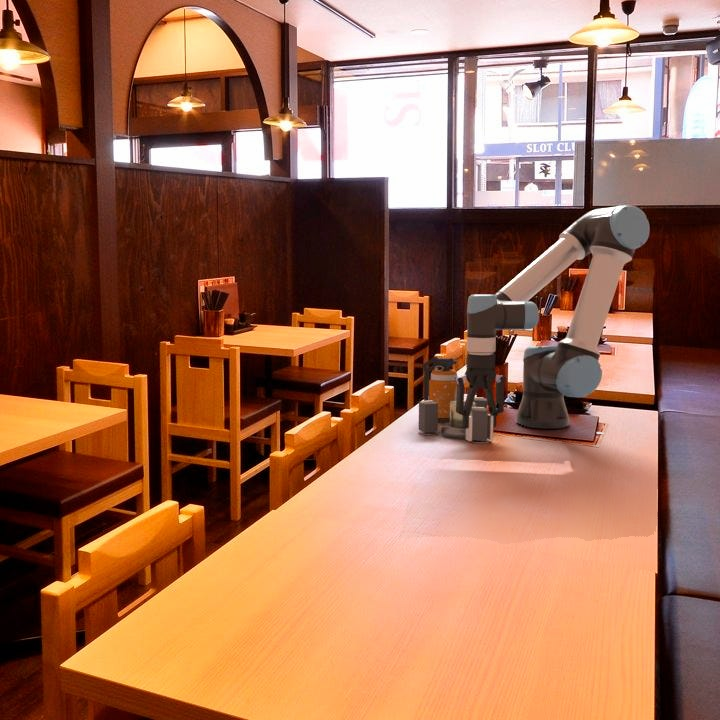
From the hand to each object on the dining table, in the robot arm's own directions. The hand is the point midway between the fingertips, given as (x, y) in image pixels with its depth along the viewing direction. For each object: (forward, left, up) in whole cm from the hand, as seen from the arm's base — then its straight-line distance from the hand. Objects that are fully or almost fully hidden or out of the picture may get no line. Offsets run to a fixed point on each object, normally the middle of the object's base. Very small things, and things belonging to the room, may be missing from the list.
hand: (479, 439), depth 206 cm
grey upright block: (+14, -8, -1) cm, 16 cm away
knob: (0, -16, -1) cm, 16 cm away
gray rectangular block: (0, 0, -1) cm, 1 cm away
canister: (+12, -24, -1) cm, 27 cm away
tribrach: (+5, -8, -1) cm, 9 cm away
